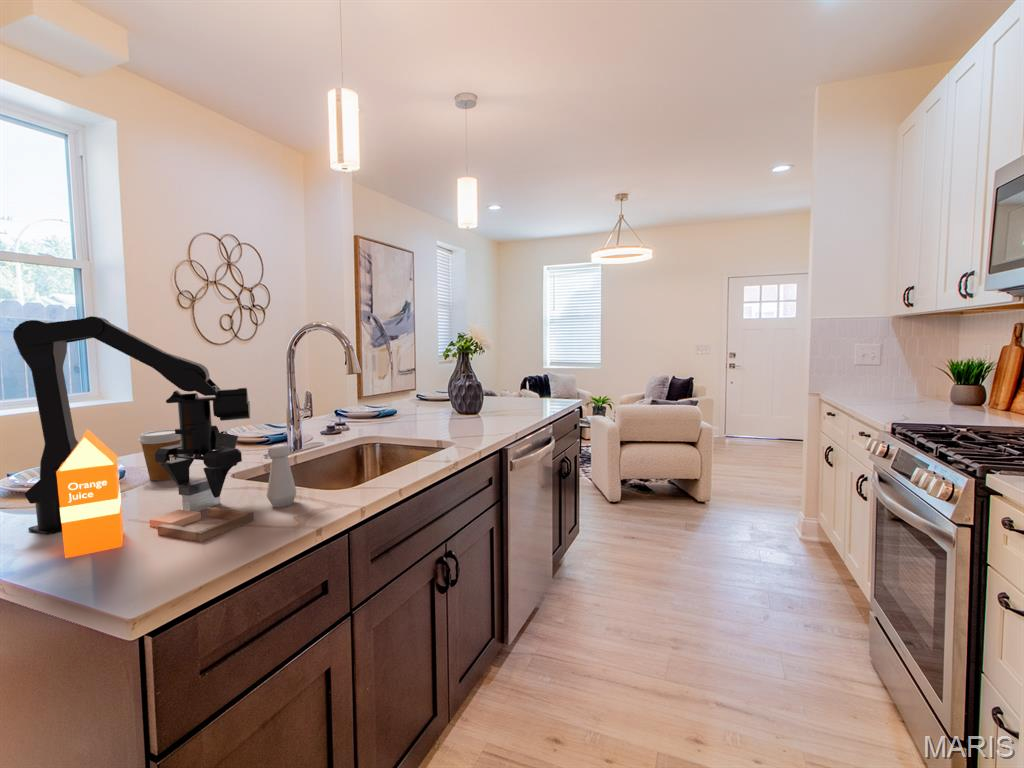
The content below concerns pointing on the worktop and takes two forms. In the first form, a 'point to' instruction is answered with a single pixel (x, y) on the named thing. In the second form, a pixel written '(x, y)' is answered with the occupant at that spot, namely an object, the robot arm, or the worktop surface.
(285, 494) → the salt shaker
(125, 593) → the worktop surface
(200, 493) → the grey block
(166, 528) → the bay
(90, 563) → the worktop surface
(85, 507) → the orange juice
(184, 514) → the tile
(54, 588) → the worktop surface
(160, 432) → the disposable coffee cup
